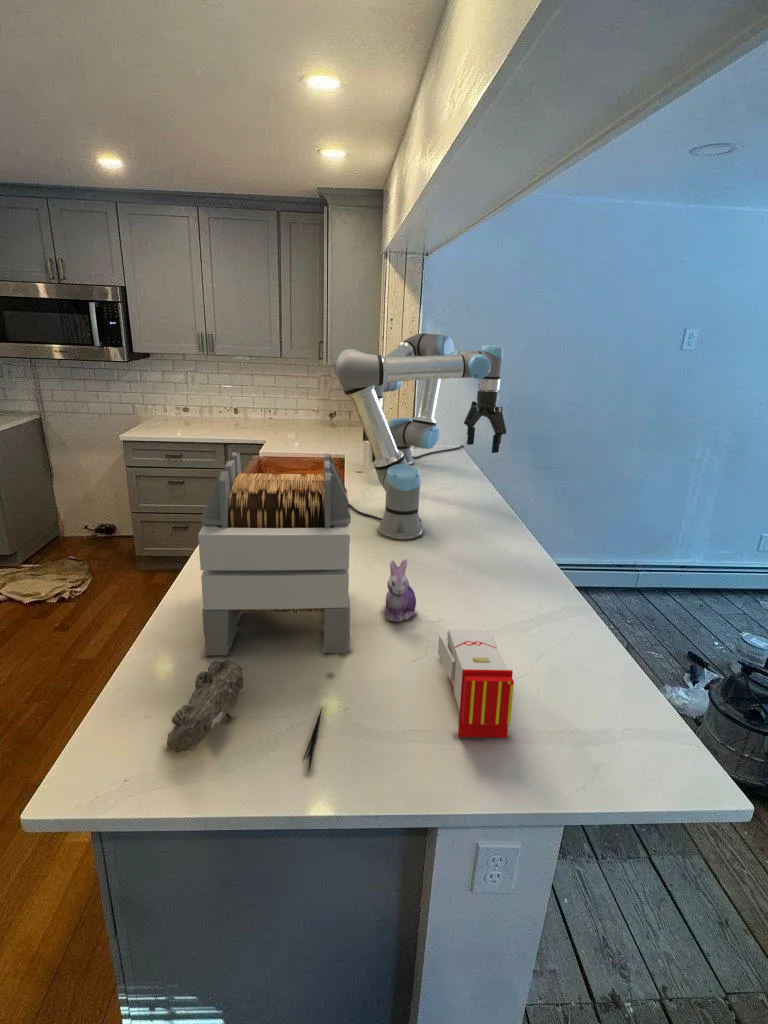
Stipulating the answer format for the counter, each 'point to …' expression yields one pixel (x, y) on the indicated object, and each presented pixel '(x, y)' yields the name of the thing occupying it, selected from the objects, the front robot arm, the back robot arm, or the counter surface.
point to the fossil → (206, 705)
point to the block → (367, 456)
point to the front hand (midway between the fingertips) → (482, 448)
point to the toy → (478, 682)
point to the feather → (313, 740)
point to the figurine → (399, 594)
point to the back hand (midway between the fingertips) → (371, 459)
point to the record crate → (275, 551)
